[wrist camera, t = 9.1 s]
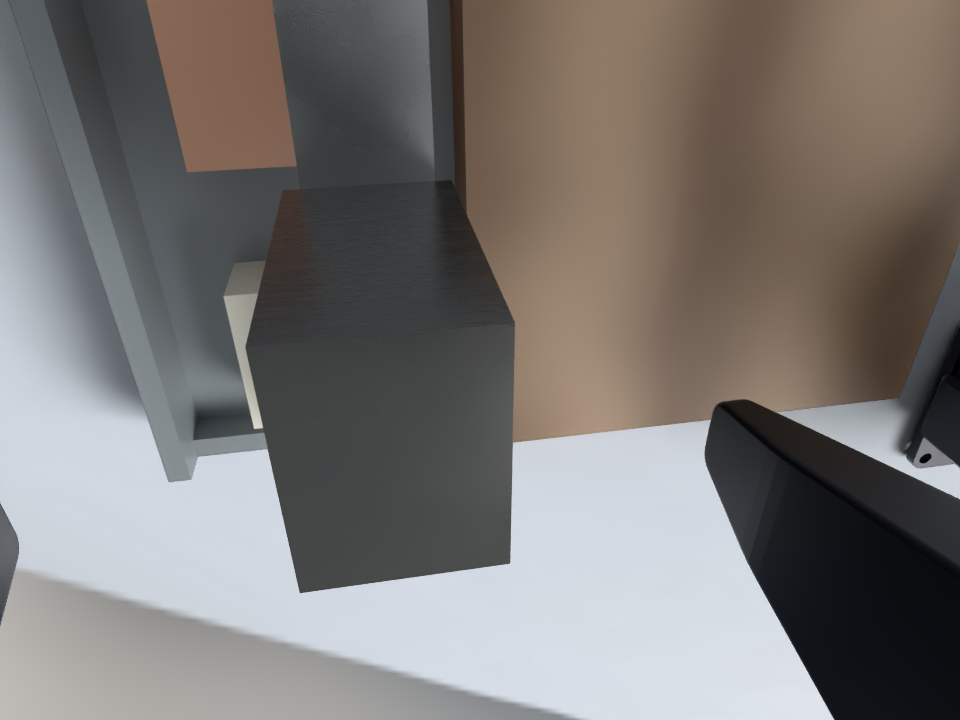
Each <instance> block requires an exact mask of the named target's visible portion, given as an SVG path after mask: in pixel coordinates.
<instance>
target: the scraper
mask: <svg viewBox="0 0 960 720" xmlns="http://www.w3.org/2000/svg"><path fill="white" fill-rule="evenodd" d="M272 6H273V12H274V19H275V26H276V32H277V39H278V45H279V52H280V59H281V65H282V72H283V78H284V85H285V92H286V98H287V105H288V112H289V118H290V125H291V131H292V138H293V145H294V151H295V158H296V164H297V171H298V178H299V184H300V189H296V190H283V192H282V196H281V200H280V204H279V208H278V213H277V217H276V221H275V225H274V229H273V233H272V238H271V242H270V246H269V250H268V254H267V258H266V263H265V267H264V271H263V275H262V279H261V283H260V288H259V292H258V296H257V300H256V304H255V308H254V313H253V317H252V321H251V325H250V329H249V333H248V338H247V342H246V346H245V349H246V353H247V358H248V362H249V367H250V371H251V376H252V380H253V385H254V389H255V394H256V398H257V403H258V407H259V412H260V416H261V421H262V425H263V430H264V434H265V439H266V443H267V448H268V452H269V457H270V461H271V466H272V470H273V475H274V479H275V484H276V488H277V493H278V497H279V501H280V506H281V510H282V515H283V519H284V524H285V528H286V533H287V537H288V542H289V546H290V551H291V555H292V560H293V564H294V569H295V573H296V578H297V582H298V587H299V591H300V593H304V592H311V591H318V590H325V589H332V588H339V587H347V586H354V585H361V584H368V583H375V582H382V581H389V580H396V579H403V578H411V577H418V576H425V575H432V574H439V573H446V572H453V571H460V570H468V569H475V568H482V567H489V566H496V565H503V564H510V544H511V496H512V448H513V400H514V353H515V321H514V319H513V317H512V315H511V312H510V310H509V308H508V306H507V304H506V301H505V299H504V297H503V295H502V292H501V290H500V288H499V286H498V283H497V281H496V279H495V277H494V274H493V272H492V270H491V268H490V265H489V263H488V261H487V259H486V256H485V254H484V252H483V250H482V247H481V245H480V243H479V241H478V239H477V236H476V234H475V232H474V230H473V227H472V225H471V223H470V221H469V218H468V216H467V214H466V212H465V209H464V207H463V205H462V203H461V200H460V198H459V196H458V194H457V191H456V189H455V187H454V185H453V182H452V180H445V181H435V168H434V145H433V123H432V100H431V78H430V55H429V33H428V10H427V0H272Z"/></svg>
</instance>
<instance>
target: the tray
mask: <svg viewBox="0 0 960 720" xmlns="http://www.w3.org/2000/svg"><path fill="white" fill-rule="evenodd" d="M9 3H10V6H11V9H12V12H13V15H14V18H15V21H16V24H17V27H18V30H19V33H20V36H21V39H22V42H23V45H24V48H25V51H26V54H27V57H28V60H29V63H30V66H31V69H32V72H33V75H34V78H35V81H36V84H37V87H38V90H39V93H40V96H41V99H42V102H43V105H44V108H45V111H46V114H47V117H48V120H49V123H50V126H51V129H52V132H53V135H54V138H55V141H56V144H57V147H58V150H59V153H60V156H61V159H62V162H63V165H64V168H65V171H66V174H67V178H68V181H69V184H70V187H71V190H72V193H73V196H74V199H75V202H76V205H77V208H78V211H79V214H80V217H81V220H82V223H83V226H84V229H85V232H86V235H87V238H88V241H89V244H90V247H91V250H92V253H93V256H94V259H95V262H96V265H97V268H98V271H99V274H100V277H101V280H102V283H103V286H104V289H105V292H106V295H107V298H108V301H109V304H110V307H111V310H112V313H113V316H114V319H115V322H116V325H117V328H118V331H119V334H120V337H121V340H122V343H123V346H124V349H125V352H126V355H127V358H128V361H129V364H130V367H131V370H132V373H133V376H134V379H135V382H136V385H137V388H138V391H139V394H140V397H141V400H142V403H143V406H144V409H145V412H146V415H147V418H148V421H149V424H150V427H151V430H152V433H153V436H154V439H155V442H156V445H157V448H158V451H159V454H160V457H161V460H162V463H163V466H164V470H165V473H166V476H167V479H168V482H175V481H184V480H191V479H192V475H193V472H194V468H195V465H196V461H197V458H198V457H199V456H208V455H217V454H226V453H235V452H244V451H253V450H262V449H268V448H267V443H266V439H265V434H264V430H263V428H259V429H254V426H253V422H252V418H251V413H250V409H249V405H248V400H247V396H246V392H245V387H244V383H243V379H242V374H241V370H240V366H239V361H238V357H237V353H236V349H235V344H234V340H233V336H232V331H231V327H230V323H229V318H228V314H227V310H226V305H225V301H224V297H223V296H224V293H225V290H226V287H227V284H228V281H229V278H230V275H231V272H232V269H233V266H234V263H241V262H254V261H266V258H267V254H268V250H269V246H270V242H271V238H272V233H273V229H274V225H275V221H276V217H277V213H278V208H279V204H280V200H281V196H282V192H283V190H296V189H300V184H299V178H298V171H297V166H290V167H272V168H254V169H236V170H218V171H200V172H187V169H186V165H185V161H184V157H183V153H182V148H181V144H180V140H179V136H178V132H177V127H176V123H175V119H174V115H173V111H172V106H171V102H170V98H169V94H168V89H167V85H166V81H165V77H164V73H163V68H162V64H161V60H160V56H159V52H158V47H157V43H156V39H155V35H154V31H153V26H152V22H151V18H150V14H149V9H148V5H147V1H146V0H9ZM427 10H428V33H429V55H430V78H431V100H432V123H433V145H434V168H435V181H445V180H452V182H453V185H454V187H455V163H454V128H453V93H452V58H451V23H450V0H427Z"/></svg>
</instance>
